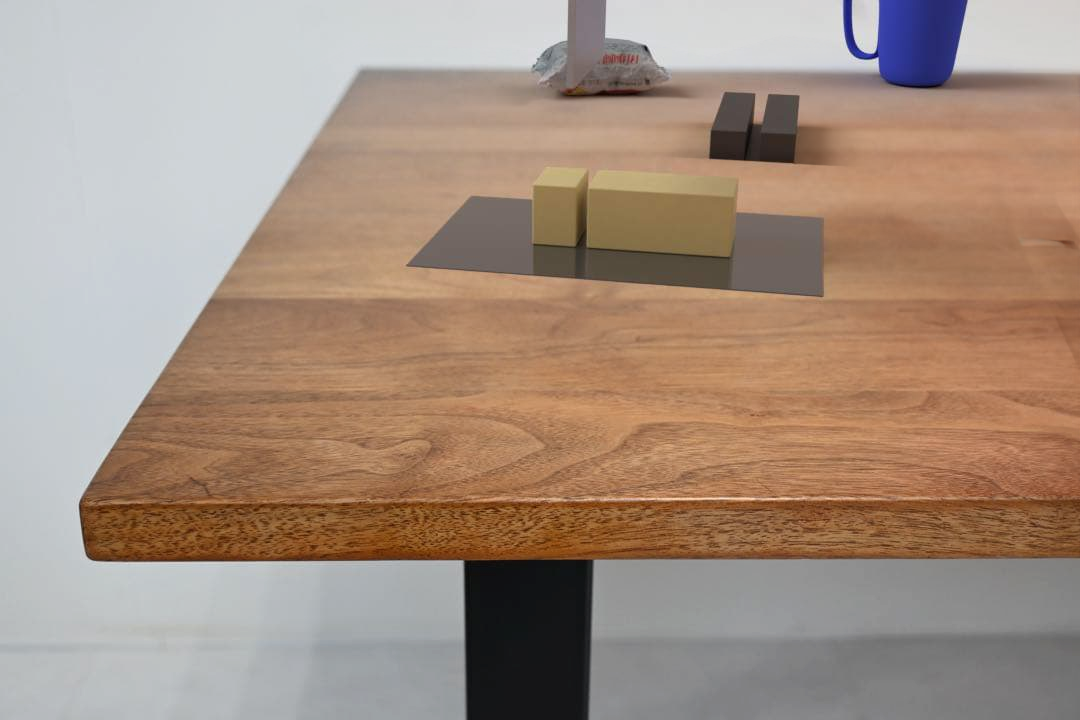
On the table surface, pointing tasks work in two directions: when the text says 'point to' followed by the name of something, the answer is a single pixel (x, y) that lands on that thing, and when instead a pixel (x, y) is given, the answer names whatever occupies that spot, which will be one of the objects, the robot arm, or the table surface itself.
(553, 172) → the butter slice
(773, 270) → the butter board
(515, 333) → the table surface
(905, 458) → the table surface
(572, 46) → the scraper knife
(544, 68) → the packaged food
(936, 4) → the mug
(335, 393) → the table surface
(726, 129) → the knife holder
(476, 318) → the table surface
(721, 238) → the butter stick
